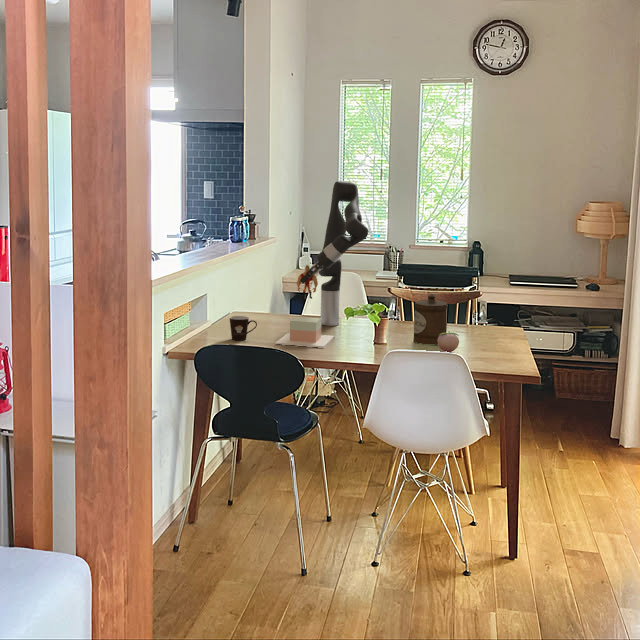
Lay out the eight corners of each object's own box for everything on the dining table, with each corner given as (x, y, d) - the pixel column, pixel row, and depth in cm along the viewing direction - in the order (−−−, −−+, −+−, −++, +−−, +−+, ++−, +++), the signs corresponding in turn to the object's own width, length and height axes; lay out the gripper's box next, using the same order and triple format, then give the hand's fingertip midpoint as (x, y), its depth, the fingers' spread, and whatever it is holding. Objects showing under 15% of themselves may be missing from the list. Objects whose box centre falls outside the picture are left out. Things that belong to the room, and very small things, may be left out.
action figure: (295, 298, 360) (296, 264, 357) (297, 297, 363) (297, 263, 360) (316, 299, 358) (317, 265, 355) (317, 298, 362) (318, 264, 359)
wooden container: (410, 338, 377) (412, 291, 373) (441, 338, 378) (444, 291, 374) (416, 345, 362) (419, 296, 358) (449, 345, 364) (452, 297, 359)
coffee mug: (226, 340, 363) (226, 318, 361) (234, 336, 371) (234, 315, 369) (249, 342, 359) (249, 320, 357) (257, 339, 367) (257, 317, 365)
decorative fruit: (444, 356, 342) (445, 333, 340) (433, 352, 350) (435, 329, 348) (462, 354, 346) (464, 331, 344) (452, 350, 353) (453, 328, 352)
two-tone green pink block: (288, 334, 377) (288, 313, 375) (334, 338, 373) (335, 316, 371) (275, 344, 356) (275, 322, 354) (324, 348, 352) (324, 325, 350)
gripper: (327, 247, 362) (300, 273, 367) (320, 250, 348) (292, 277, 353) (338, 259, 361) (311, 285, 366) (332, 263, 348) (304, 290, 353)
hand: (302, 281), depth 360 cm, fingers closed on action figure, 3 cm apart
